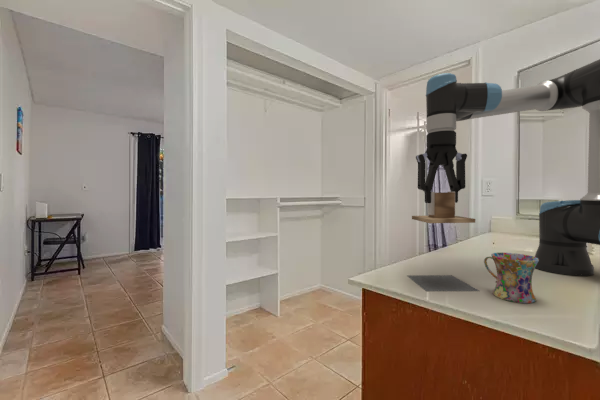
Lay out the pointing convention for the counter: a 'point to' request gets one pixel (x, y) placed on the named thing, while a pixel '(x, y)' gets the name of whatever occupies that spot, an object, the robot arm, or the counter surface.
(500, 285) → the mug
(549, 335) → the counter surface
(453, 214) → the lid
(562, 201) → the robot arm
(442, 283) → the mat
